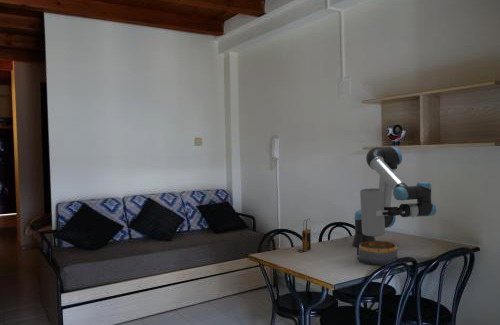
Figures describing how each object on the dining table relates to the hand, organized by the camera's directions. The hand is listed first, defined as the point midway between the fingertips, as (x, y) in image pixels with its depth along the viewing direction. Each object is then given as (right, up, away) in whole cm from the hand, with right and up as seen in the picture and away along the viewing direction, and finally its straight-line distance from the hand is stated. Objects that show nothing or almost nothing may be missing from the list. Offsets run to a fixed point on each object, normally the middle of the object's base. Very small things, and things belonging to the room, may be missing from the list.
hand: (371, 211), depth 246 cm
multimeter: (-36, -28, +32) cm, 56 cm away
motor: (+3, -28, +3) cm, 28 cm away
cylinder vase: (+1, -13, +1) cm, 13 cm away
